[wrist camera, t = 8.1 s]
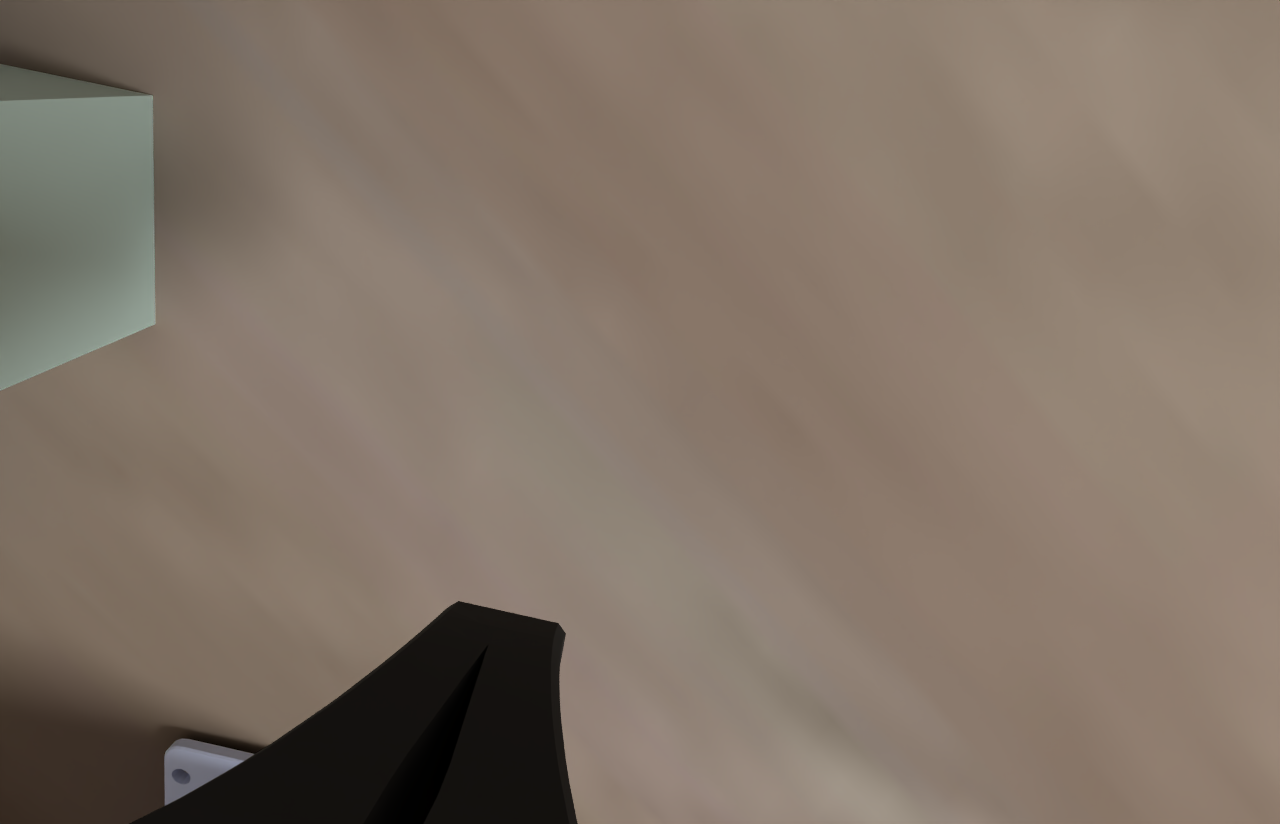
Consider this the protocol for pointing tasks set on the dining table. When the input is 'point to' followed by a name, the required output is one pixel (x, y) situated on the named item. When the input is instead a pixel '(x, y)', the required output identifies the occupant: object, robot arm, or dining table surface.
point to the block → (72, 219)
